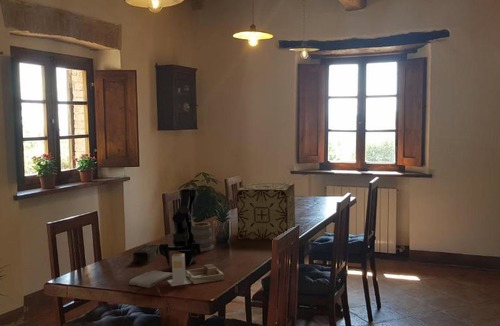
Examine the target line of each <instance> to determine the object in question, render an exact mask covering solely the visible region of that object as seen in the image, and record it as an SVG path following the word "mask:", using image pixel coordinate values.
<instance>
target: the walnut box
mask: <svg viewBox="0 0 500 326" xmlns="http://www.w3.org/2000/svg"><path fill="white" fill-rule="evenodd" d="M203 268H204V274H205V275H206V276H210V275H217V269H218V267H217V266H215V265H214V264H213V263H211V264H210V263H209V264H204V265H203Z"/></svg>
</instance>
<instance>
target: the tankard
mask: <svg viewBox="0 0 500 326" xmlns="http://www.w3.org/2000/svg"><path fill="white" fill-rule="evenodd" d="M211 226H212V225H211V223H209V222H195V221H194V220H193V219H192V234H193V236H194V238H195V240H196V243H200V244H201V253H202V252H207V251H208V252H209V251H212V250H213V249H214V248H215V245H214V244H213V243H212V242H213V236H212V233H213V228H212V227H211Z"/></svg>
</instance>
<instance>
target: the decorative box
mask: <svg viewBox="0 0 500 326" xmlns="http://www.w3.org/2000/svg"><path fill="white" fill-rule="evenodd" d="M295 205H296V204H295V183H278V182H277V183H275V182H274V183H267V182H266V183H261V182H260V183H259V182H257V183H256V182H255V183H253V182H252V183H251V182H250V183H247V184H245V185H243V186H241V187H239V188H236V212H237V214H236V215H237V239H238V240H255V239H268V240H267V241H273V240H272V239H273V238H275V237H277V236H278V235H280V234H282V233H284V232H285V231H287V230H288V229H290V228H292V227H295V228H296V214H295V213H296V210H295V209H296V206H295Z"/></svg>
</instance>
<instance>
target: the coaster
mask: <svg viewBox="0 0 500 326" xmlns="http://www.w3.org/2000/svg"><path fill="white" fill-rule="evenodd" d="M166 280H167V279H166ZM167 282H168V284H169V285H170V286H171V287H175V286H183V285H188V284H189V285H190V284H192V281H191V280H190V279H189V278H188V277H186V280H185V283H180V284H173V279H168V280H167Z"/></svg>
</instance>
